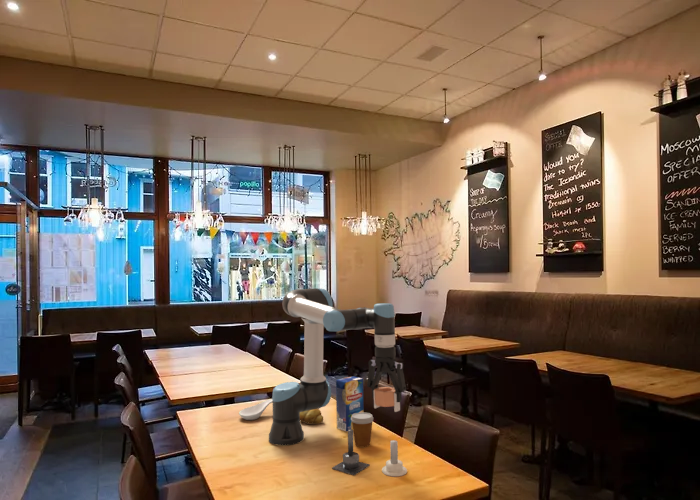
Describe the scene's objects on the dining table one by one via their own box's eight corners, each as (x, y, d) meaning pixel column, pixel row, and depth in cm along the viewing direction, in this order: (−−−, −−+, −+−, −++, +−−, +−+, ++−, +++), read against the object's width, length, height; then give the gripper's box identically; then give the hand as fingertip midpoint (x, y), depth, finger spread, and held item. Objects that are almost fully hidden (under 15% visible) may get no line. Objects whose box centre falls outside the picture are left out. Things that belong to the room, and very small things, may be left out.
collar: (371, 404, 169) (370, 390, 169) (383, 399, 176) (382, 386, 176) (390, 407, 164) (389, 393, 165) (401, 402, 171) (401, 388, 171)
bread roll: (327, 422, 224) (327, 405, 225) (312, 427, 217) (312, 410, 217) (309, 417, 233) (309, 400, 233) (294, 422, 226) (294, 405, 226)
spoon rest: (245, 424, 224) (245, 409, 224) (234, 418, 233) (234, 403, 233) (288, 414, 239) (287, 399, 239) (276, 408, 248) (276, 395, 248)
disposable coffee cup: (372, 449, 189) (371, 419, 190) (349, 448, 191) (348, 418, 192) (375, 441, 199) (375, 412, 199) (353, 439, 201) (353, 411, 201)
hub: (377, 472, 168) (376, 442, 168) (390, 463, 175) (389, 435, 176) (399, 478, 163) (398, 448, 163) (411, 469, 170) (410, 440, 170)
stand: (332, 468, 171) (331, 431, 172) (347, 459, 180) (347, 424, 180) (354, 475, 166) (353, 436, 166) (369, 465, 174) (369, 428, 174)
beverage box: (363, 426, 218) (363, 378, 219) (346, 431, 211) (345, 382, 212) (353, 422, 223) (353, 376, 224) (336, 428, 216) (335, 380, 217)
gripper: (356, 345, 174) (357, 407, 173) (404, 349, 162) (406, 416, 161) (367, 342, 180) (369, 402, 179) (415, 346, 168) (417, 410, 167)
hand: (386, 409), depth 170 cm, fingers closed on collar, 8 cm apart
